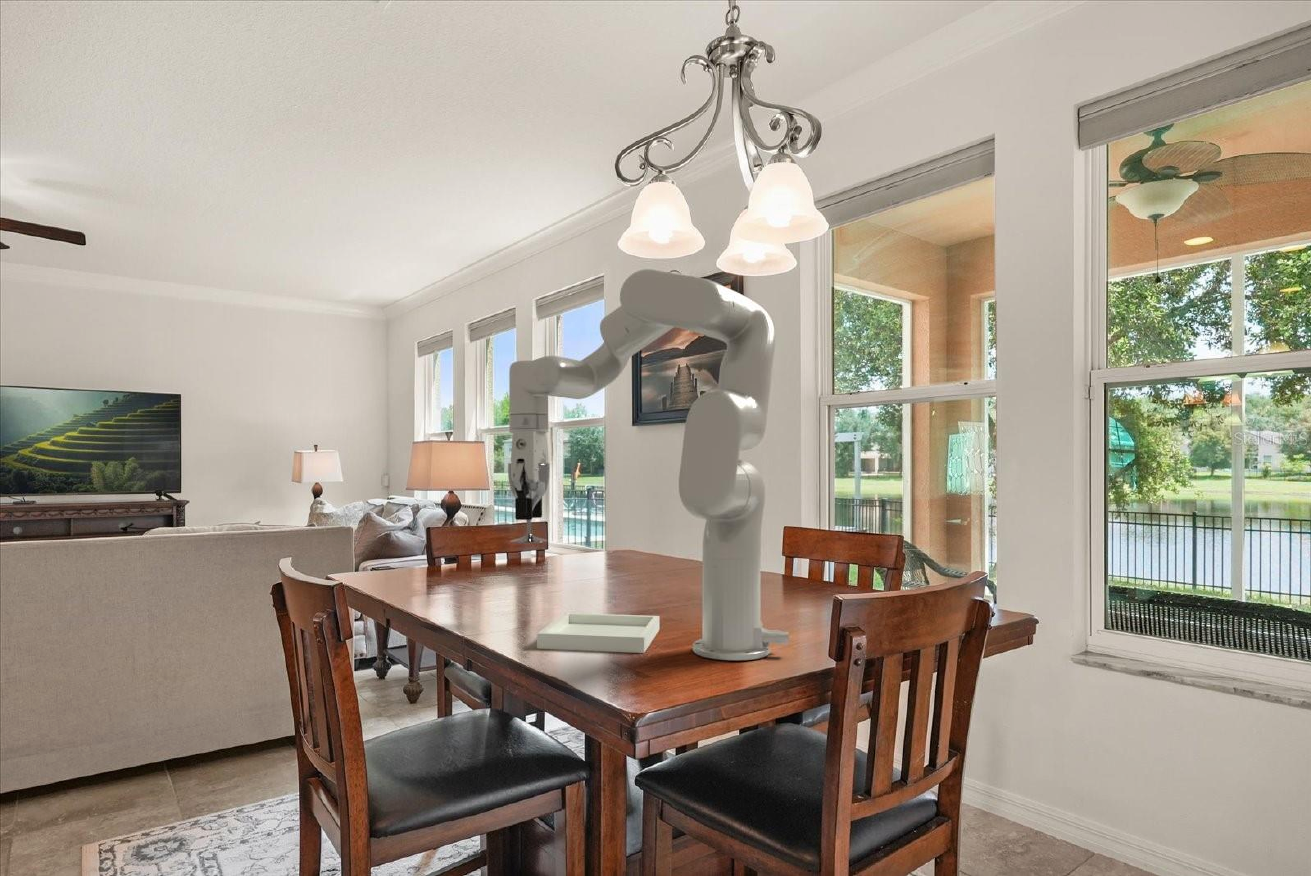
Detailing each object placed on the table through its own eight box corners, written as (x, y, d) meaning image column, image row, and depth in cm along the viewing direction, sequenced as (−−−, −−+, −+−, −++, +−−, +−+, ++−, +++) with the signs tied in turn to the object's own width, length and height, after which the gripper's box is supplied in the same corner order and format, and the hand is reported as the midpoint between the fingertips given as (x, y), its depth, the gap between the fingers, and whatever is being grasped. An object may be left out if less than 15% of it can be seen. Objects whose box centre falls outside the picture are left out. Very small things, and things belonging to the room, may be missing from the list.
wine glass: (526, 538, 152) (526, 463, 153) (558, 540, 148) (557, 463, 149) (499, 542, 145) (499, 463, 146) (531, 543, 141) (531, 463, 142)
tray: (659, 629, 142) (659, 616, 142) (644, 653, 124) (644, 637, 124) (565, 626, 144) (565, 612, 144) (537, 648, 126) (537, 633, 127)
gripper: (534, 421, 139) (534, 521, 138) (559, 427, 156) (559, 516, 155) (494, 422, 140) (494, 521, 139) (524, 427, 157) (524, 516, 156)
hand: (528, 517), depth 147 cm, fingers closed on wine glass, 5 cm apart
